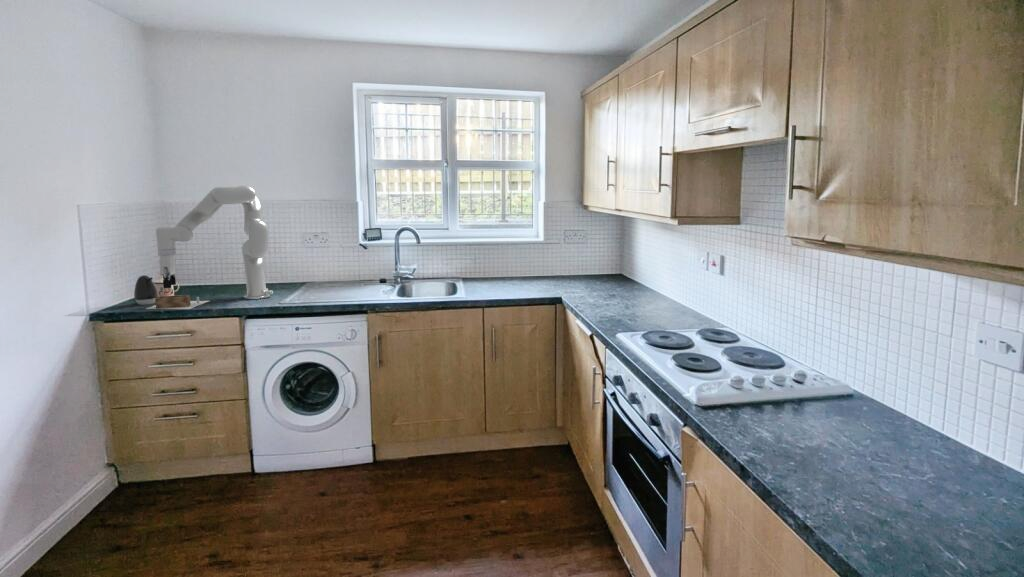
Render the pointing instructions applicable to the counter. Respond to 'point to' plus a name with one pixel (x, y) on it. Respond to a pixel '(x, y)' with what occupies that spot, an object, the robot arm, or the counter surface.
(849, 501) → the counter surface
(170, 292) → the teacup with lid
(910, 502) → the counter surface
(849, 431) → the counter surface
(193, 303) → the wall board
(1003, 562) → the counter surface
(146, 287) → the dark grey egg-shaped piece
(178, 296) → the frame
